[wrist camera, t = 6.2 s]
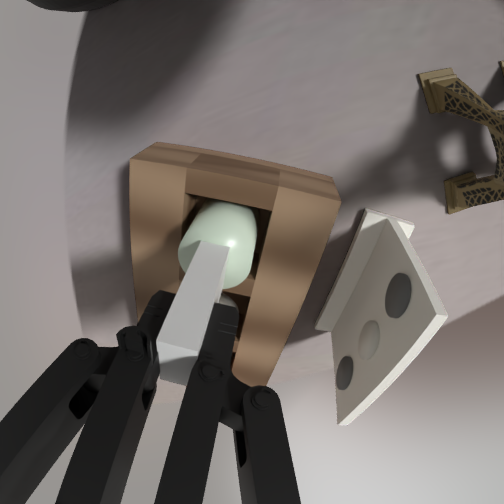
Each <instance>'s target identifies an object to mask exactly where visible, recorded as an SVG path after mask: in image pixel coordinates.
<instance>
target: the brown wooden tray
mask: <svg viewBox="0 0 504 504" xmlns="http://www.w3.org/2000/svg"><path fill="white" fill-rule="evenodd" d="M208 197H210V198H214V199H219V200H224V201H229V202H234V203H239V204H243V205H248V206H252V207H257V208H258V210H259V215H260V222H259V228H258V233H257V238H256V244H255V249H254V254H253V259H252V264H251V269H250V272H249V274H248V276H247V278H246V279H245V280H244V281H243V282H242V283H240V284H239V285H237V286H235V287H232V288H228V289H222V293H224V294H226V295H227V296H229V297H230V298H231V299H232V300H233V301H234V302H235V303H236V305H237V307H238V310H239V321H238V326H237V331H236V336H235V341H234V346H233V351H232V356H231V361H230V368H231V371H232V373H233V375H234V376H235V377H236V378H237V379H238V380H240V381H241V382H243V383H245V384H247V385H249V386H251V387H252V386H257V385H262V386H266V385H267V383H268V380H269V378H270V376H271V374H272V372H273V370H274V368H275V366H276V363H277V361H278V359H279V357H280V355H281V352H282V350H283V348H284V346H285V344H286V341H287V339H288V337H289V335H290V332H291V330H292V328H293V325H294V323H295V321H296V318H297V316H298V314H299V311H300V309H301V307H302V304H303V302H304V299H305V297H306V295H307V292H308V290H309V287H310V285H311V282H312V280H313V277H314V275H315V272H316V270H317V267H318V265H319V262H320V260H321V257H322V254H323V252H324V249H325V246H326V244H327V241H328V238H329V236H330V233H331V230H332V228H333V225H334V222H335V219H336V217H337V214H338V211H339V208H340V205H341V202H342V201H341V199H340V196H339V193H338V191H337V188H336V186H335V183H334V181H333V178H332V177H329V176H326V175H322V174H318V173H314V172H310V171H306V170H302V169H298V168H294V167H290V166H286V165H282V164H277V163H273V162H268V161H264V160H259V159H254V158H250V157H245V156H240V155H235V154H229V153H224V152H219V151H213V150H207V149H201V148H195V147H189V146H183V145H176V144H169V143H162V142H156V143H154V144H153V145H151V146H149V147H148V148H146V149H144V150H143V151H141V152H140V153H138V154H137V155H135V156H133V157H132V158H130V175H129V202H130V235H131V253H132V268H133V280H134V290H135V300H136V308H137V317H138V322H139V320H140V318H141V316H142V314H143V313H144V310H145V308H146V306H147V304H148V302H149V300H150V299H151V297H152V296H153V295H154V294H155V293H156V292H158V291H159V290H163V291H167V292H171V293H175V294H177V292H178V289H179V287H180V285H181V283H182V281H183V278H184V276H185V274H186V273H185V272H184V271H183V269H182V267H181V265H180V263H179V259H178V248H179V245H180V243H181V241H182V239H183V237H184V236H185V234H186V232H187V231H188V229H189V227H190V225H191V224H192V222H193V220H194V219H195V217H196V215H197V214H198V212H199V210H200V209H201V207H202V205H203V204H204V202H205V200H206V199H207V198H208Z"/></svg>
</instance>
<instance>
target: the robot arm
mask: <svg viewBox="0 0 504 504" xmlns="http://www.w3.org/2000/svg"><path fill="white" fill-rule="evenodd" d="M27 1H29V2H31V3H33V4H34V5H36V6H38V7H41V8H44V9H48V10H56V11H67V12H82V11H88V10H93V9H97V8H100V7H103V6H106V5H109V4H111V3H114V2H116V1H118V0H27ZM229 249H230V247H227V246H222V245H218V244H213V243H209V242H204V241H201V242H200V244H199V246H198V248H197V251H196V253H195V255H194V257H193V259H192V261H191V263H190V265H189V268H188V270H187V272H186V274H185V276H184V278H183V281H182V283H181V285H180V287H179V289H178V292H177V294H175V293H171V292H167V291H163V290H159V291H158V292H156V293H155V294H154V295H153V296H152V297H151V299H150V300H149V302H148V304H147V306H146V308H145V310H144V313H143V314H142V316H141V318H140V320H139V322H138V324H137V326H129V327H125V328H123V329H121V330H120V331H119V332H118V333H117V334H116V336H117V340H118V345H119V346H118V347H98V346H97V344H96V343H95V342H94V341H93V340H90V339H88V338H81V339H78V340H75V341H74V342H72V343H71V344H70V345H69V346H68V347H67V348H66V349H65V350H64V351H63V352H62V353H61V354H60V356H59V357H58V358H57V359H56V360H55V361H54V362H53V363H52V364H51V365H50V366H49V367H48V368H47V369H46V370H45V372H44V373H43V374H42V375H41V376H40V377H39V378H38V379H37V380H36V381H35V383H34V384H33V385H32V386H31V387H30V388H29V389H28V390H27V392H26V393H25V394H24V395H23V396H22V397H21V398H20V400H19V401H18V402H17V403H16V404H15V405H14V407H13V408H12V409H11V410H10V411H9V412H8V414H7V415H6V416H5V417H4V418H3V420H2V421H1V422H0V504H25V503H26V501H27V500H28V499H29V497H30V496H31V494H32V493H33V492H34V490H35V489H36V488H37V486H38V485H39V483H40V482H41V481H42V479H43V478H44V477H45V475H46V474H47V473H48V471H49V470H50V468H51V467H52V466H53V464H54V463H55V462H56V460H57V459H58V457H59V456H60V455H61V454H62V452H63V451H64V450H65V448H66V447H67V446H68V445H69V443H70V442H71V441H72V439H73V438H74V437H75V435H76V434H77V432H78V431H79V430H80V429H81V428H82V426H83V425H84V424H85V425H84V427H83V430H82V432H81V435H80V437H79V439H78V442H77V444H76V447H75V450H74V452H73V455H72V457H71V460H70V463H69V465H68V468H67V471H66V474H65V476H64V479H63V482H62V485H61V488H60V491H59V494H58V497H57V500H56V503H55V504H120V503H121V499H122V496H123V493H124V489H125V486H126V482H127V479H128V476H129V473H130V469H131V466H132V463H133V460H134V456H135V453H136V450H137V447H138V444H139V440H140V438H141V434H142V431H143V428H144V425H145V422H146V419H147V416H148V413H149V410H150V407H151V404H152V401H153V399H154V396H155V393H156V388H157V384H156V382H157V379H158V376H159V374H160V379H163V380H166V381H170V382H173V383H177V384H181V385H185V386H187V387H186V390H185V394H184V397H183V401H182V404H181V408H180V411H179V414H178V418H177V421H176V425H175V429H174V432H173V436H172V439H171V443H170V446H169V450H168V454H167V457H166V461H165V465H164V468H163V472H162V476H161V479H160V483H159V487H158V491H157V495H156V499H155V503H154V504H202V502H203V497H204V492H205V487H206V482H207V477H208V472H209V467H210V462H211V457H212V453H213V448H214V443H215V438H216V433H217V428H218V422H221V423H223V424H224V425H227V426H228V427H230V428H232V429H233V433H234V443H235V452H236V461H237V469H238V477H239V485H240V492H241V500H242V504H301V501H300V497H299V491H298V486H297V481H296V477H295V472H294V467H293V462H292V457H291V452H290V447H289V442H288V437H287V432H286V428H285V423H284V418H283V413H282V408H281V403H280V399H279V397H278V395H277V393H276V392H275V391H274V390H273V389H271V388H269V387H267V386H262V385H257V386H252V387H251V386H249V385H247V384H245V383H243V382H241V381H240V380H238V379H237V378H236V377H235V376H234V375H233V373H232V371H231V368H230V361H231V356H232V351H233V346H234V341H235V336H236V331H237V326H238V321H239V314H238V311H237V307H233V306H228V305H224V304H220V303H219V299H220V296H221V292H222V289H223V284H224V278H225V272H226V266H227V261H228V255H229Z"/></svg>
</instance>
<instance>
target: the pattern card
mask: <svg viewBox="0 0 504 504" xmlns="http://www.w3.org/2000/svg"><path fill="white" fill-rule="evenodd" d="M414 227H415V226H414V224H413V223H412V222H410V221H407V220H403V219H400V218H397V217H394V216H391V215H387V214H384V213H381V212H377V211H374V210H370V209H367V208H366V209H365V211H364V214H363V216H362V219H361V221H360V224H359V226H358V229H357V231H356V234H355V236H354V239H353V241H352V243H351V246H350V248H349V251H348V253H347V255H346V258H345V260H344V262H343V264H342V267H341V269H340V271H339V273H338V276H337V278H336V280H335V282H334V284H333V287H332V289H331V291H330V293H329V295H328V297H327V300H326V302H325V304H324V306H323V308H322V310H321V312H320V314H319V316H318V318H317V320H316V322H315V329H317V330H322V331H328V332H331V336H332V347H333V359H334V372H335V386H336V403H337V424H338V425H343V426H347V425H349V424H350V423H351V422H352V421H353V420H354V419H355V418H356V417H357V416H359V415H360V414H361V413H362V412H363V411H364V410H365V409H366V408H367V407H368V406H369V405H371V404H372V403H373V402H374V401H375V400H376V399H377V398H378V397H379V396H380V395H381V394H382V393H383V392H384V391H385V390H386V389H387V388H388V387H389V386H390V385H391V384H392V383H393V381H395V380H396V378H397V377H398V376H399V375H400V374H401V373H402V372H403V371H404V370H405V369H406V368H407V367H408V365H409V364H410V363H411V362H412V361H413V360H414V359H415V357H416V356H417V355H418V354H419V353H420V352H421V350H422V349H423V348H424V347H425V346H426V344H427V343H428V342H429V341H430V340H431V338H432V337H433V336H434V334H435V333H436V332H437V331H438V329H439V328H440V327H441V326H442V324H443V323H444V322H445V320H446V319H447V318H448V314H447V312H446V310H445V308H444V306H443V304H442V302H441V300H440V297H439V295H438V293H437V291H436V289H435V287H434V285H433V283H432V281H431V280H430V278H429V276H428V274H427V272H426V270H425V268H424V266H423V264H422V263H421V261H420V259H419V257H418V255H417V254H416V252H415V250H414V248H413V247H412V245H411V243H410V241H409V237H410V235H411V233H412V231H413V229H414Z"/></svg>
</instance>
